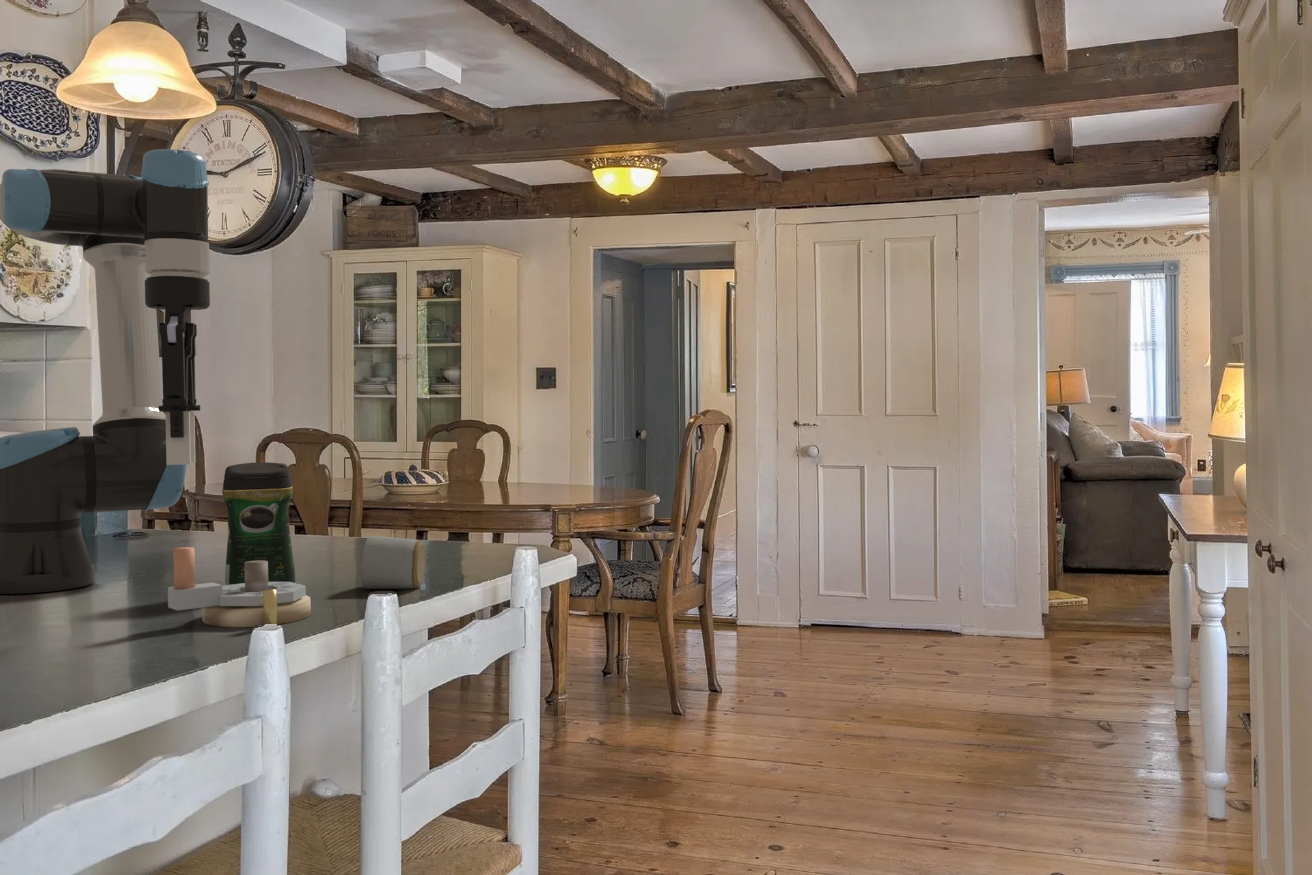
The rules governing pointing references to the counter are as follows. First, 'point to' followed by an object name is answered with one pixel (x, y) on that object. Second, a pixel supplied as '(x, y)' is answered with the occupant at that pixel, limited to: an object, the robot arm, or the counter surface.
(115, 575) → the counter surface
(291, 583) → the grey base with pegs
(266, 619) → the dowel pin
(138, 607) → the counter surface
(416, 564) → the ceramic mug
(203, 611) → the pedestal
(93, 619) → the counter surface
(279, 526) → the coffee jar
